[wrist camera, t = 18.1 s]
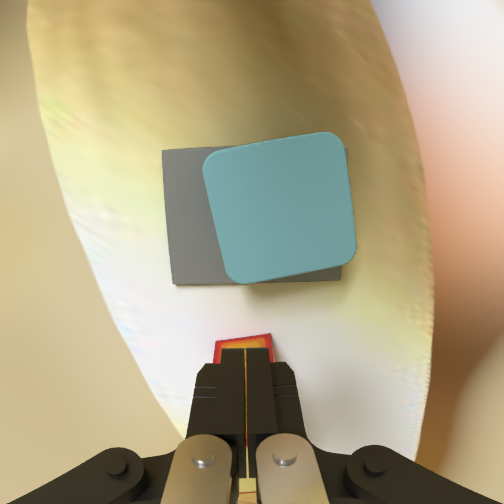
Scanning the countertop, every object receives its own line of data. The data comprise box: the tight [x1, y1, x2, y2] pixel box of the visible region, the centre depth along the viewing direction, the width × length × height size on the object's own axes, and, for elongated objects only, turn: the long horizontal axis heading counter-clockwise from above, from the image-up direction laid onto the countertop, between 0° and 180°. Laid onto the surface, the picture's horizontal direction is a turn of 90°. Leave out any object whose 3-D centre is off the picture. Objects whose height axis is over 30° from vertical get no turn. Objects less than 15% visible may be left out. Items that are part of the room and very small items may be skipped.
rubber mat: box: [162, 146, 348, 284], centre depth 31 cm, size 14×18×1 cm
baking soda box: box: [213, 333, 275, 494], centre depth 30 cm, size 10×6×16 cm
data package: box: [203, 132, 357, 284], centre depth 28 cm, size 12×4×12 cm
